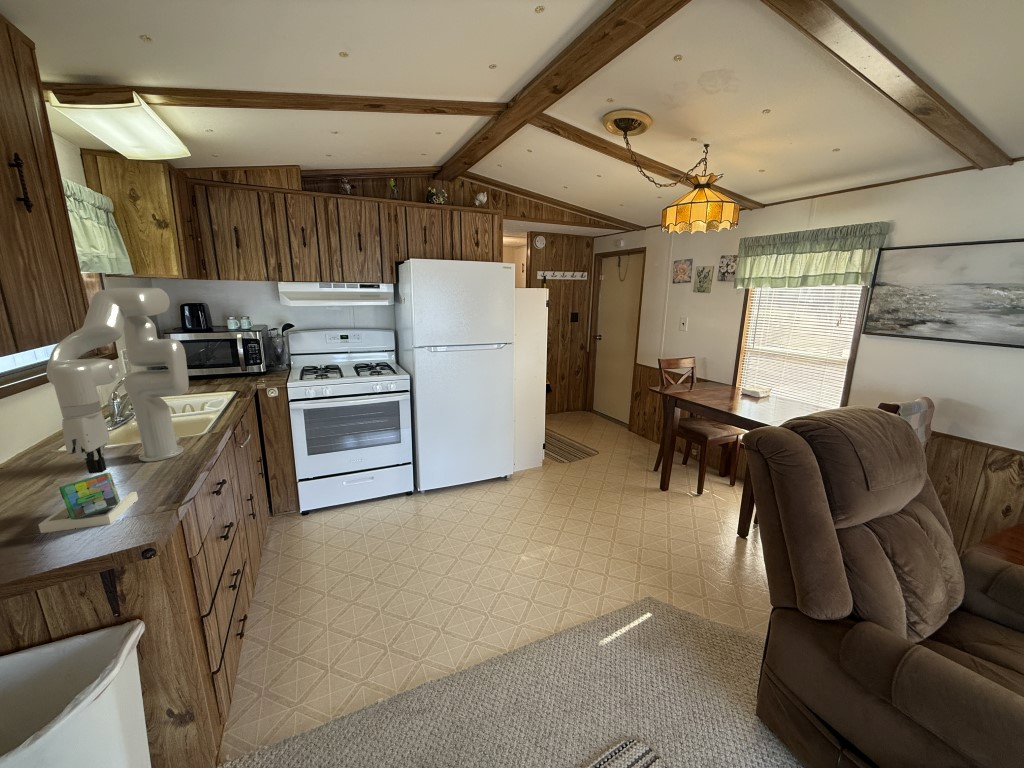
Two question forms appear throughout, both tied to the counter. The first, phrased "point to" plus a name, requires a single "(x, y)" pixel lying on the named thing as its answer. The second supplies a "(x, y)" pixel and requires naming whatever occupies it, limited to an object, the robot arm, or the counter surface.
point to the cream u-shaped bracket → (85, 517)
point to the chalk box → (89, 495)
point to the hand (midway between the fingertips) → (98, 471)
